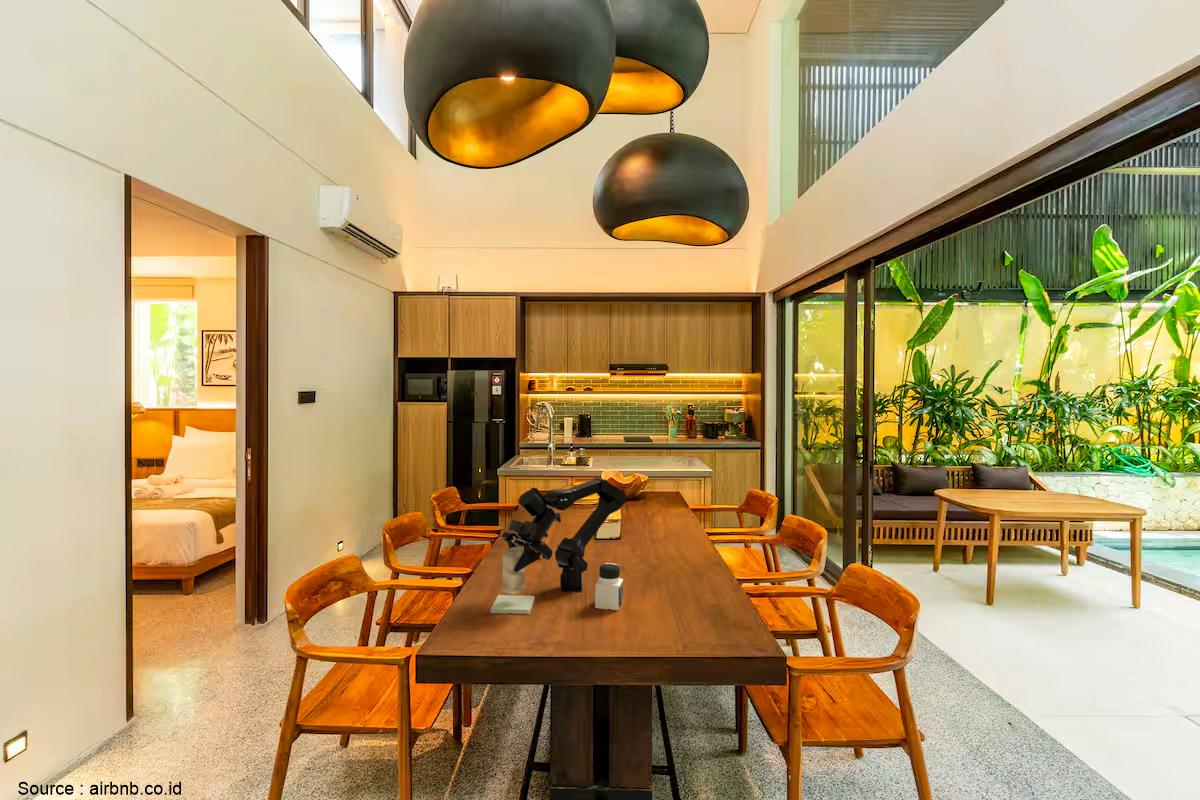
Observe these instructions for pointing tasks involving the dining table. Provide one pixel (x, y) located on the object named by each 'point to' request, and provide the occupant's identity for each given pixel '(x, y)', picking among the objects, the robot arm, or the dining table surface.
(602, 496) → the robot arm
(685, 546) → the dining table surface
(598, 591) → the medicine bottle
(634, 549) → the dining table surface
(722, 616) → the dining table surface
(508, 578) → the birch block
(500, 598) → the board
